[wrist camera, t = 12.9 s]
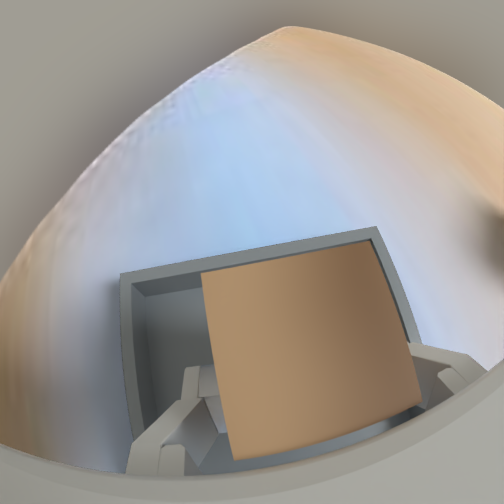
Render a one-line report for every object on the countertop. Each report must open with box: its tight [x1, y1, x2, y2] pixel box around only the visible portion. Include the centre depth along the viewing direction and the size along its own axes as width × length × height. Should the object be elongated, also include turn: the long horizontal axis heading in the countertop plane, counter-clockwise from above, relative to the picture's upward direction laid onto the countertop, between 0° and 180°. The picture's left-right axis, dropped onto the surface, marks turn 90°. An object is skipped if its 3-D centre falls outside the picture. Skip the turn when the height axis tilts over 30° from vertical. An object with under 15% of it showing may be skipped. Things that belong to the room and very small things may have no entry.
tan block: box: [201, 241, 423, 461], centre depth 9 cm, size 4×4×10 cm
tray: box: [120, 226, 425, 475], centre depth 14 cm, size 17×15×3 cm
